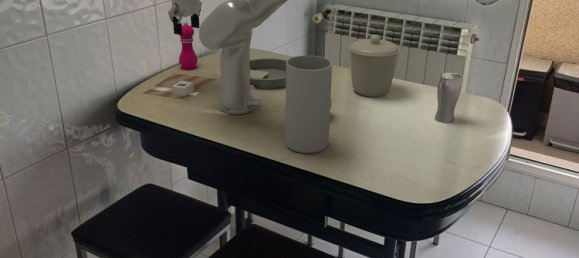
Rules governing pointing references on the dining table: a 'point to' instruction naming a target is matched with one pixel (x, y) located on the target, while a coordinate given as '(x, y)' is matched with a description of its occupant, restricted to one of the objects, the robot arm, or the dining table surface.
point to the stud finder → (183, 88)
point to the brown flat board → (166, 85)
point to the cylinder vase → (308, 103)
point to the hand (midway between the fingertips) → (186, 30)
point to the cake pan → (275, 69)
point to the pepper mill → (187, 48)
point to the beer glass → (447, 96)
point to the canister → (373, 65)
